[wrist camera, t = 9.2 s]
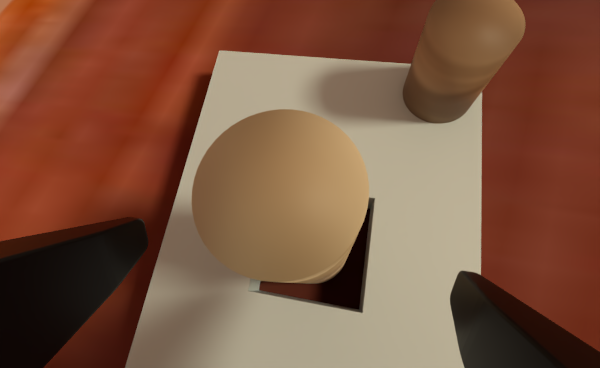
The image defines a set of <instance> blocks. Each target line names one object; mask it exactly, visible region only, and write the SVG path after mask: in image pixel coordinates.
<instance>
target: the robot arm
mask: <svg viewBox="0 0 600 368" xmlns="http://www.w3.org/2000/svg"><path fill="white" fill-rule="evenodd" d="M147 246H148V237H147V233H146V228H145V224H144V221H143V220H142V219H139V218H133V217H127V218H121V219H116V220H111V221H106V222H100V223H95V224H90V225H84V226H79V227H74V228H69V229H63V230H58V231H53V232H48V233H42V234H37V235H32V236H26V237H21V238H16V239H11V240H5V241H0V368H43V367H44V366H45V365H46V364H47V363H48V362H49V361H50V360H51V359H52V358H53V357H54V355H55V354H56V353H57V352H58V351H59V350H60V349H61V348H62V347H63V346H64V345H65V344H66V343H67V341H68V340H69V339H70V338H71V337H72V336H73V335H74V334H75V333H76V332H77V331H78V330H79V328H80V327H81V326H82V325H83V324H84V323H85V322H86V321H87V320H88V319H89V318H90V317H91V316H92V314H93V313H94V312H95V311H96V310H97V309H98V308H99V307H100V306H101V305H102V304H103V303H104V301H105V300H106V299H107V298H108V297H109V296H110V295H111V294H112V293H113V292H114V291H115V289H116V288H117V287H118V286H119V285H120V283H121V282H122V281H123V280H124V278H125V277H126V276H127V274H128V273H129V272H130V270H131V269H132V268H133V266H134V265H135V264H136V263H137V261H138V260H139V259H140V257H141V256H142V255H143V253H144V252H145V251H146V249H147ZM450 306H451V311H452V316H453V321H454V326H455V331H456V336H457V342H458V346H459V351H460V355H461V358H462V362H463V365H464V368H600V352H599V351H597V350H596V349H594V348H593V347H591V346H590V345H588V344H586V343H585V342H583V341H582V340H580V339H579V338H577V337H576V336H574V335H572V334H571V333H569V332H568V331H566V330H565V329H563V328H562V327H560V326H559V325H557V324H555V323H554V322H552V321H551V320H549V319H548V318H546V317H545V316H543V315H542V314H540V313H538V312H537V311H535V310H534V309H532V308H531V307H529V306H528V305H526V304H524V303H523V302H521V301H520V300H518V299H517V298H515V297H514V296H512V295H511V294H509V293H507V292H506V291H504V290H503V289H501V288H500V287H498V286H497V285H495V284H494V283H492V282H490V281H489V280H487V279H486V278H484V277H483V276H481V275H480V274H478V273H475V272H470V271H460V272H459V273H458V275H457V277H456V280H455V283H454V285H453V288H452V291H451V294H450Z"/></svg>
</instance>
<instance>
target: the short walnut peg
mask: <svg viewBox="0 0 600 368" xmlns="http://www.w3.org/2000/svg"><path fill="white" fill-rule="evenodd" d="M524 32H525V18H524V15H523V12H522V10H521V9H520V7H519V6H518V5H517V3H516V2H515V1H514V0H436V1H435V2H434V4H433V5H432V7H431V9H430V11H429V14H428V16H427V19H426V22H425V25H424V28H423V31H422V34H421V37H420V40H419V43H418V46H417V49H416V51H415V54H414V57H413V60H412V63H411V66H410V69H409V72H408V75H407V78H406V81H405V84H404V87H403V100H404V103H405V105H406V107H407V108H408V109H409V111H410V112H411V113H412V114H413V115H415V116H416V117H418V118H419V119H421V120H424V121H426V122H430V123H438V124H442V123H448V122H452V121H455V120H457V119H459V118H460V117H462V116H463V115H464V114H465V113H466V112H467V110H468V109H469V108H470V107H471V105H472V104H473V103H474V101H475V100H476V99H477V97H478V96H479V95H480V93H481V92H482V91H483V89H484V88H485V87H486V85H487V84H488V83H489V81H490V80H491V79H492V77H493V76H494V75H495V73H496V72H497V71H498V70H499V68H500V67H501V66H502V64H503V63H504V62H505V60H506V59H507V58H508V56H509V55H510V54H511V52H512V51H513V50H514V48H515V47H516V46H517V44H518V43H519V42H520V40H521V39H522V37H523V34H524Z"/></svg>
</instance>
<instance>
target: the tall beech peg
mask: <svg viewBox="0 0 600 368" xmlns="http://www.w3.org/2000/svg"><path fill="white" fill-rule="evenodd" d="M368 201H369V181H368V174H367V170H366V167H365V163H364V161H363V159H362V156H361V154H360V152H359V151H358V149H357V147H356V146H355V144H354V143H353V142H352V140H351V139H350V138H349V137H348V136H347V135H346V134H345V133H344V132H343V131H342V130H341V129H340V128H339V127H337V126H336V125H334V124H333V123H332V122H330V121H328V120H326V119H324V118H323V117H320V116H318V115H315V114H313V113H309V112H305V111H300V110H292V109H278V110H269V111H265V112H260V113H257V114H254V115H251V116H249V117H247V118H245V119H243V120H240V121H239V122H237V123H235V124H234V125H232V126H231V127H229V128H228V129H227V130H226V131H224V132H223V133H222V134H221V135H220V136H219V137H218V138H217V139H216V140H215V141H214V142H213V143H212V145H211V146H210V147H209V148H208V150H207V151H206V153H205V155H204V156H203V158H202V160H201V162H200V164H199V166H198V168H197V171H196V175H195V178H194V182H193V187H192V200H191V202H192V213H193V218H194V222H195V225H196V228H197V231H198V233H199V235H200V237H201V239H202V241H203V243H204V244H205V246H206V247H207V248H208V250H209V251H210V252H211V254H212V255H213V256H214V257H215V258H216V259H217V260H218V261H220V262H221V263H222V264H223V265H225V266H226V267H227V268H229V269H231V270H233V271H234V272H236V273H238V274H240V275H243V276H246V277H248V278H251V279H256V280H260V281H269V282H286V283H306V284H320V283H324V282H327V281H329V280H331V279H332V278H334V277H335V276H336V275H337V274H338V273H339V272H340V271H341V270H342V268H343V266H344V264H345V262H346V260H347V257H348V255H349V253H350V251H351V248H352V246H353V244H354V242H355V240H356V237H357V235H358V233H359V231H360V229H361V226H362V224H363V222H364V219H365V216H366V212H367V208H368Z"/></svg>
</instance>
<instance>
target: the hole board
mask: <svg viewBox="0 0 600 368" xmlns="http://www.w3.org/2000/svg"><path fill="white" fill-rule="evenodd" d="M410 66H411V64H402V63H387V62H373V61H359V60H345V59H331V58H317V57H303V56H289V55H275V54H261V53H247V52H233V51H219V54H218V57H217V60H216V64H215V67H214V70H213V74H212V77H211V80H210V84H209V87H208V91H207V94H206V97H205V101H204V104H203V107H202V111H201V114H200V117H199V121H198V124H197V127H196V131H195V134H194V138H193V141H192V144H191V148H190V151H189V154H188V158H187V161H186V164H185V168H184V171H183V174H182V178H181V181H180V185H179V188H178V191H177V195H176V198H175V201H174V205H173V208H172V211H171V215H170V218H169V222H168V225H167V228H166V232H165V235H164V238H163V242H162V245H161V248H160V252H159V255H158V258H157V262H156V265H155V269H154V272H153V275H152V279H151V282H150V285H149V289H148V292H147V295H146V299H145V302H144V305H143V309H142V312H141V316H140V319H139V322H138V326H137V329H136V332H135V336H134V339H133V342H132V346H131V349H130V352H129V356H128V359H127V363H126V366H125V368H464V365H463V362H462V358H461V355H460V351H459V346H458V342H457V336H456V331H455V326H454V321H453V316H452V311H451V306H450V294H451V291H452V288H453V285H454V283H455V280H456V277H457V275H458V273H459V272H460V271H470V272H475V273H478V274H480V275H481V169H482V92H481V93H480V95H479V96H478V97H477V99H476V100H475V101H474V103H473V104H472V105H471V107H470V108H469V109H468V110H467V112H466V113H465V114H464V115H463V116H462V117H460V118H459V119H457V120H455V121H452V122H448V123H442V124H438V123H430V122H426V121H424V120H421V119H419V118H418V117H416V116H415V115H413V114H412V113H411V112H410V111H409V109H408V108H407V107H406V105H405V103H404V100H403V87H404V84H405V81H406V78H407V75H408V72H409V69H410ZM278 109H292V110H300V111H305V112H309V113H313V114H315V115H318V116H320V117H323V118H324V119H326V120H328V121H330V122H332V123H333V124H334V125H336V126H337V127H339V128H340V129H341V130H342V131H343V132H344V133H345V134H346V135H347V136H348V137H349V138H350V139H351V140H352V142H353V143H354V144H355V146H356V147H357V149H358V151H359V152H360V154H361V156H362V159H363V161H364V163H365V167H366V170H367V174H368V181H369V201H368V208H370V215H369V224H368V233H367V242H366V251H365V260H364V269H363V278H362V287H361V296H360V305H359V309H354V308H349V307H344V306H338V305H333V304H328V303H323V302H318V301H312V300H307V299H302V298H297V297H291V296H286V295H281V294H276V293H271V292H265V291H260V290H259V287H260V282H261V281H260V280H256V279H251V278H248V277H246V276H243V275H240V274H238V273H236V272H234V271H233V270H231V269H229V268H227V267H226V266H225V265H223V264H222V263H221V262H220V261H218V260H217V259H216V258H215V257H214V256H213V255H212V254H211V252H210V251H209V250H208V248H207V247H206V246H205V244H204V243H203V241H202V239H201V237H200V235H199V233H198V231H197V228H196V225H195V222H194V218H193V213H192V202H191V200H192V187H193V182H194V178H195V175H196V171H197V168H198V166H199V164H200V162H201V160H202V158H203V156H204V155H205V153H206V151H207V150H208V148H209V147H210V146H211V145H212V143H213V142H214V141H215V140H216V139H217V138H218V137H219V136H220V135H221V134H222V133H223V132H224V131H226V130H227V129H228V128H229V127H231V126H232V125H234V124H235V123H237V122H239V121H240V120H243V119H245V118H247V117H249V116H251V115H254V114H257V113H260V112H265V111H269V110H278Z"/></svg>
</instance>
